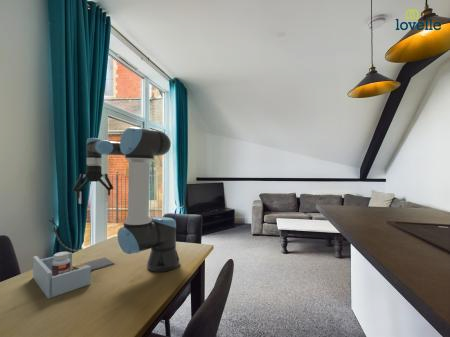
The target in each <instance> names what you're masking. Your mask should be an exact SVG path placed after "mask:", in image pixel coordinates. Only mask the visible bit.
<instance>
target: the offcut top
mask: <svg viewBox="0 0 450 337" xmlns="http://www.w3.org/2000/svg"><path fill="white" fill-rule="evenodd" d="M84 267H88V265H85V264H82V263H81V262H80V263H77V264H74V265H72V268H71V271H74V270H77V269H81V268H84Z"/></svg>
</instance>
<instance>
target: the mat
mask: <svg viewBox="0 0 450 337" xmlns="http://www.w3.org/2000/svg"><path fill="white" fill-rule="evenodd" d="M82 264H85V265H88V266H91V272H94V271H96V270H100V269H102V268H106V267H109V266H113V265H115V262H114V261H111V260H110V259H109V258H107V257H101V258H97V259H94V260H91V261H90V260H89V261H86V262H83V263H82Z"/></svg>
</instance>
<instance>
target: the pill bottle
mask: <svg viewBox="0 0 450 337" xmlns="http://www.w3.org/2000/svg"><path fill="white" fill-rule="evenodd" d="M69 253H70V252H69V251H60V252H56V253H55V254H53V257H54V261H53V262H52V277H53V276H56V275H60V274H63V273H67V272H70V271H71V268H70V259H69V258H68V257H69Z"/></svg>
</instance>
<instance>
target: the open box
mask: <svg viewBox="0 0 450 337" xmlns="http://www.w3.org/2000/svg"><path fill="white" fill-rule="evenodd" d="M68 258H69V259H70V269H72V266H73V252H69V257H68ZM53 261H54V256H50V257H46V258H42V259H41V258H39V256H38V255H34V256H33V259H32V264H33V265H32V267H33V268H32V278H33V280H34V281H35V283H36V284H37V285H38V287H39V289H40V290H41V291H42V293H44V295H45V297H46V298H47V299H51V298H54V297H56V296H60V295H62V294H66V293H69V292H71V291H74V290H78V289H81V288H83V287H85V286H89V285H91V282H92V281H91V280H92V277H91V275H92V274H91V272H92V271H91V266H88V267H84V268H81V269H77V270H74V271H72V270H70V272H67V273H63V274H60V275H56V276H53V277H52V262H53Z"/></svg>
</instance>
